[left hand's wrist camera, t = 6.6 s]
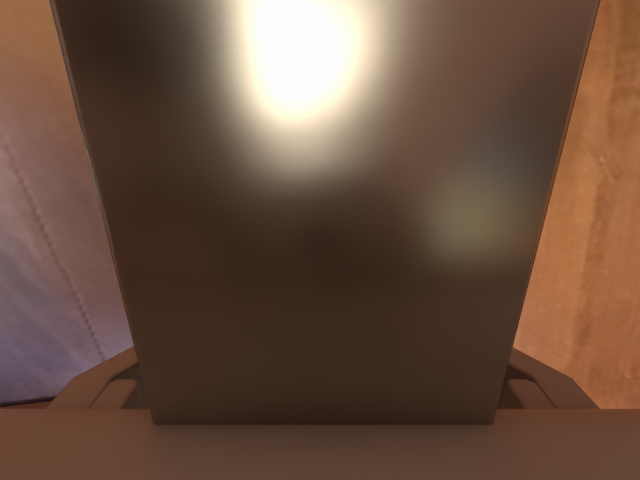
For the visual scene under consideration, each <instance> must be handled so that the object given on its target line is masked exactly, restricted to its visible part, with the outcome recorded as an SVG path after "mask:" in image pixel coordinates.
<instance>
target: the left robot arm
mask: <svg viewBox="0 0 640 480" xmlns="http://www.w3.org/2000/svg"><path fill="white" fill-rule="evenodd" d="M0 480H640V409H600V408H599V407H598V406H597V405H596V404H595V403H594V402H593V401H592V400H591V399H590V398H589V397H588V395H587V394H586V393H585V392H584V391H583V390H582V389H581V388H580V387H579V386H578V385H577V384H576V382H575V381H574V380H573V379H572V378H570V377H568V376H566V375H564V374H562V373H561V372H559V371H557V370H555V369H553V368H551V367H549V366H547V365H545V364H543V363H542V362H540V361H538V360H536V359H534V358H532V357H530V356H528V355H526V354H524V353H522V352H521V351H519V350H517V349H515V348H513V347H512V351H511V355H510V359H509V363H508V367H507V370H506V374H505V378H504V382H503V386H502V390H501V394H500V398H499V402H498V406H497V410H496V414H495V418H494V422H493V424H490V425H156V424H153V421H152V417H151V413H150V409H149V405H148V400H147V396H146V392H145V388H144V384H143V380H142V376H141V372H140V368H139V364H138V360H137V356H136V352H135V347H134V346H133V347H131V348H129V349H127V350H125V351H123V352H121V353H120V354H118V355H116V356H114V357H112V358H110V359H108V360H106V361H104V362H102V363H101V364H99V365H97V366H95V367H93V368H91V369H89V370H87V371H85V372H84V373H82V374H80V375H78V376H76V377H74V378H73V379H72V380H71V381H70V382H69V383H68V384H67V385H66V387H65V388H64V389H63V390H62V391H61V392H60V393H59V394H58V395H57V396H56V397H55V399H54V400H53V401H52V402H51V403H50V404H49V405H48V406H47V407H46V408H45V409H0Z"/></svg>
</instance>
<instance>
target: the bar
mask: <svg viewBox="0 0 640 480" xmlns="http://www.w3.org/2000/svg"><path fill="white" fill-rule="evenodd" d="M49 1H50V5H51V9H52V13H53V17H54V21H55V25H56V30H57V34H58V38H59V42H60V46H61V50H62V54H63V58H64V62H65V66H66V70H67V74H68V78H69V83H70V87H71V91H72V95H73V99H74V103H75V107H76V111H77V115H78V119H79V123H80V127H81V131H82V136H83V140H84V144H85V148H86V152H87V156H88V160H89V164H90V168H91V172H92V176H93V180H94V184H95V189H96V193H97V197H98V201H99V205H100V209H101V213H102V217H103V221H104V225H105V229H106V233H107V237H108V241H109V246H110V250H111V254H112V258H113V262H114V266H115V270H116V274H117V278H118V282H119V286H120V290H121V294H122V299H123V303H124V307H125V311H126V315H127V319H128V323H129V327H130V331H131V335H132V339H133V343H134V347H135V352H136V356H137V360H138V364H139V368H140V372H141V376H142V380H143V384H144V388H145V392H146V396H147V400H148V405H149V409H150V413H151V417H152V421H153V424H156V425H490V424H493V422H494V418H495V414H496V410H497V406H498V402H499V398H500V394H501V390H502V386H503V382H504V378H505V374H506V370H507V367H508V363H509V359H510V355H511V351H512V347H513V343H514V339H515V335H516V331H517V327H518V323H519V319H520V315H521V311H522V307H523V303H524V299H525V295H526V292H527V288H528V284H529V280H530V276H531V272H532V268H533V264H534V260H535V256H536V252H537V248H538V244H539V240H540V236H541V232H542V228H543V224H544V221H545V217H546V213H547V209H548V205H549V201H550V197H551V193H552V189H553V185H554V181H555V177H556V173H557V169H558V165H559V161H560V157H561V153H562V150H563V146H564V142H565V138H566V134H567V130H568V126H569V122H570V118H571V114H572V110H573V106H574V102H575V98H576V94H577V90H578V86H579V82H580V78H581V75H582V71H583V67H584V63H585V59H586V55H587V51H588V47H589V43H590V39H591V35H592V31H593V27H594V23H595V19H596V15H597V11H598V7H599V4H600V0H49Z"/></svg>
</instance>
